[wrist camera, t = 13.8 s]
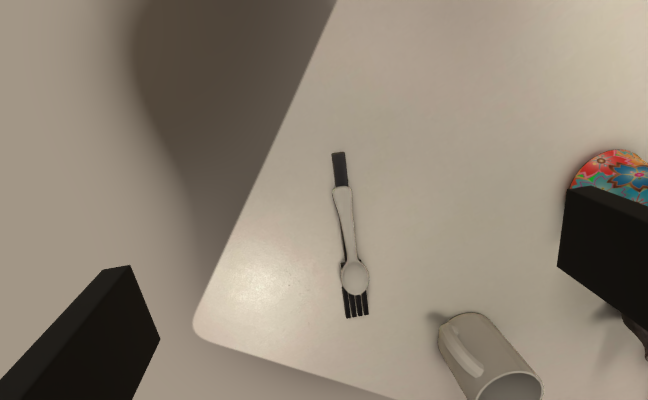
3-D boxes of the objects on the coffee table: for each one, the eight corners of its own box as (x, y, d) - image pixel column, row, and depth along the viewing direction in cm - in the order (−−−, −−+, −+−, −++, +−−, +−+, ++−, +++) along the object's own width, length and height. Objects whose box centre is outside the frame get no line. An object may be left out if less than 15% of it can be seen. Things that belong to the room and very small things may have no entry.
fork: (324, 154, 32) (324, 155, 32) (351, 150, 32) (351, 151, 32) (345, 316, 39) (346, 318, 38) (367, 311, 39) (368, 314, 38)
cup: (462, 367, 43) (504, 435, 35) (408, 331, 40) (440, 396, 32) (503, 329, 42) (558, 390, 33) (450, 289, 39) (495, 345, 31)
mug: (610, 125, 34) (742, 143, 24) (655, 178, 37) (791, 213, 27) (523, 214, 37) (611, 263, 27) (572, 257, 39) (668, 317, 29)
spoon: (342, 292, 37) (345, 302, 35) (324, 187, 34) (326, 192, 32) (368, 286, 37) (373, 296, 35) (353, 182, 34) (357, 186, 32)
